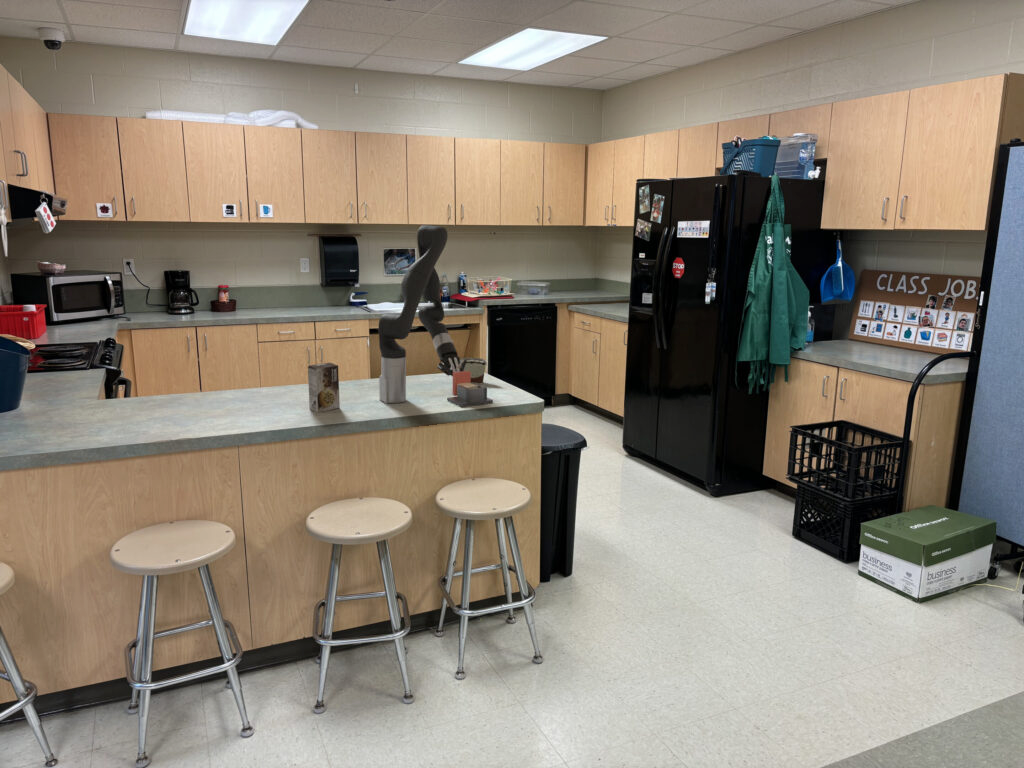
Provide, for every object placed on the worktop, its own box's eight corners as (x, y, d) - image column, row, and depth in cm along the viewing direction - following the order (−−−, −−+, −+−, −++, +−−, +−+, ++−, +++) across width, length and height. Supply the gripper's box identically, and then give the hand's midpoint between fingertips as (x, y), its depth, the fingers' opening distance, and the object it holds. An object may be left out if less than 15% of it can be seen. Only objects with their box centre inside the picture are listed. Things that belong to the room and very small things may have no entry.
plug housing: (461, 407, 265) (461, 390, 264) (447, 400, 274) (447, 384, 273) (492, 403, 273) (493, 386, 272) (477, 396, 282) (478, 380, 280)
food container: (488, 380, 310) (488, 358, 307) (486, 383, 304) (486, 361, 301) (460, 379, 311) (460, 356, 308) (458, 382, 305) (458, 359, 303)
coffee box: (330, 404, 263) (329, 362, 259) (340, 408, 259) (339, 365, 255) (308, 408, 257) (307, 365, 253) (317, 412, 252) (316, 368, 249)
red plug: (464, 399, 270) (464, 376, 268) (452, 394, 277) (452, 372, 275) (479, 397, 274) (480, 375, 272) (467, 392, 281) (468, 370, 279)
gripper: (433, 342, 279) (448, 379, 272) (462, 340, 287) (477, 375, 280) (426, 353, 285) (441, 389, 278) (455, 351, 292) (470, 386, 285)
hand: (459, 382), depth 279 cm, fingers closed
